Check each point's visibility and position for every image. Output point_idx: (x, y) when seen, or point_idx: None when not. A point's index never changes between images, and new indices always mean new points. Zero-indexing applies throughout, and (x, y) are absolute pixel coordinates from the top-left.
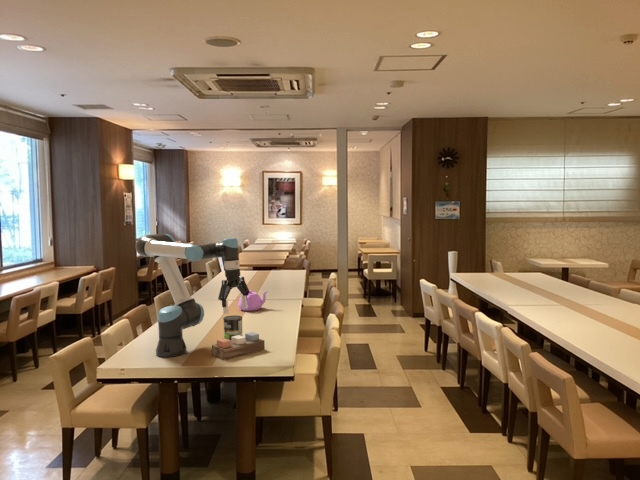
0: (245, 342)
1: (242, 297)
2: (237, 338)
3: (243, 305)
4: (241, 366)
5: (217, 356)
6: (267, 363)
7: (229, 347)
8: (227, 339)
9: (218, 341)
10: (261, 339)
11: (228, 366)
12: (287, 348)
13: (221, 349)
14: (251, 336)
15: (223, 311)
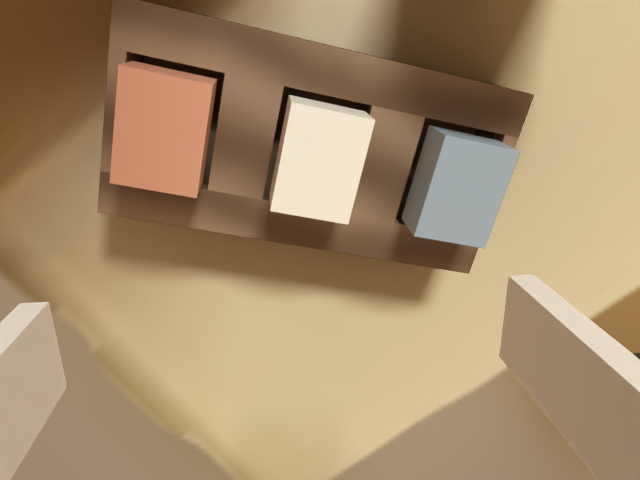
0: None
1: (634, 422)
2: (280, 197)
3: (530, 327)
4: (112, 353)
5: None
6: (245, 419)
7: None
8: (200, 144)
9: (118, 96)
10: None
11: (55, 297)
12: None
13: (102, 166)
14: (412, 230)
15: (3, 324)
